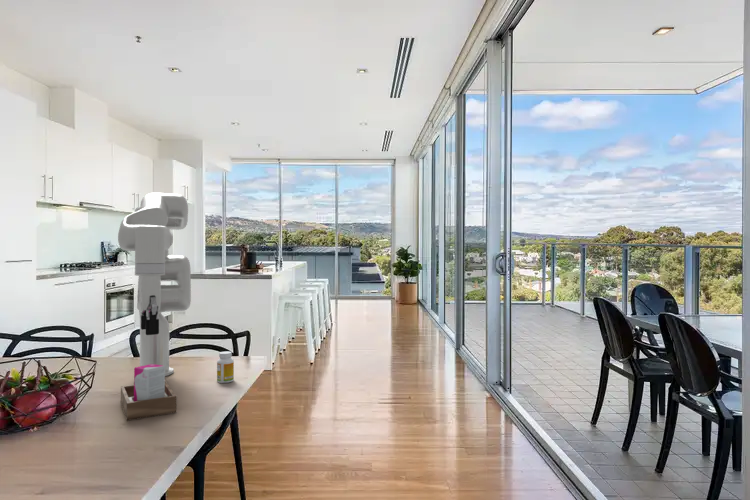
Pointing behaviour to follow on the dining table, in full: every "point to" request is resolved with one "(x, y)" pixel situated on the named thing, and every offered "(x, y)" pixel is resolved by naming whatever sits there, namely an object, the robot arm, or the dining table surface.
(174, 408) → the walnut box
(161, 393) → the supplement box
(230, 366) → the supplement bottle
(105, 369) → the dining table surface
